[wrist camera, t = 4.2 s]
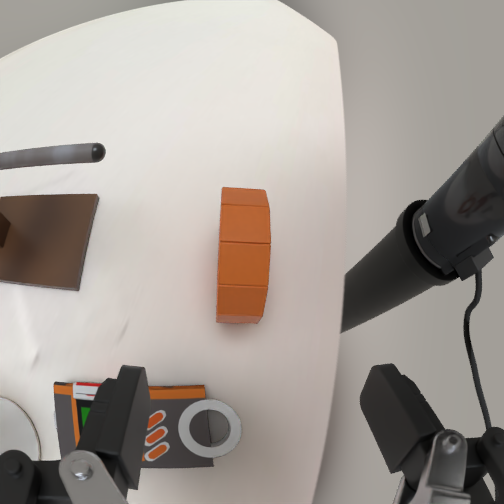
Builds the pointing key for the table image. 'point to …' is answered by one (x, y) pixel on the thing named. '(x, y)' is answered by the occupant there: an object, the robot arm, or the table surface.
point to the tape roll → (243, 255)
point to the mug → (17, 430)
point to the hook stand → (46, 223)
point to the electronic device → (155, 424)
